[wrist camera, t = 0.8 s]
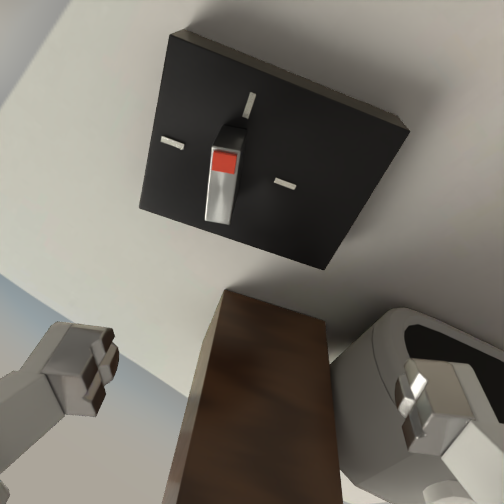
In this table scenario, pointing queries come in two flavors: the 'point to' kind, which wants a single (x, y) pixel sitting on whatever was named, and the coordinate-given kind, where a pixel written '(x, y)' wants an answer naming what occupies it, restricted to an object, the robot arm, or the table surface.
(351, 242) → the table surface
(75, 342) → the robot arm
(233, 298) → the pillar
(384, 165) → the panel
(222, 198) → the knob
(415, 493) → the alarm clock
